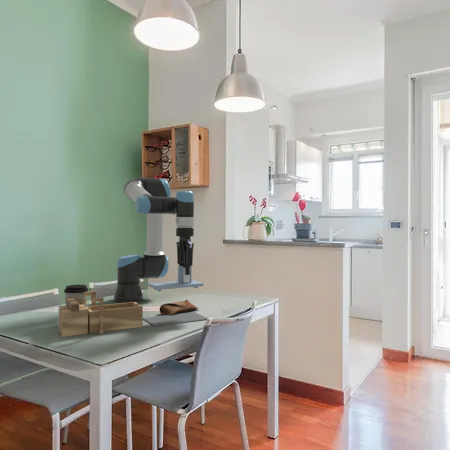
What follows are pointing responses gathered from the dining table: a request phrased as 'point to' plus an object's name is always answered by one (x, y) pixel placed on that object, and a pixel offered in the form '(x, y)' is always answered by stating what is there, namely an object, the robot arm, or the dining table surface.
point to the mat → (174, 319)
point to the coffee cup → (77, 293)
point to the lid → (176, 282)
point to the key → (72, 304)
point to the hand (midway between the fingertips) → (184, 281)
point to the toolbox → (99, 317)
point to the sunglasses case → (177, 307)
